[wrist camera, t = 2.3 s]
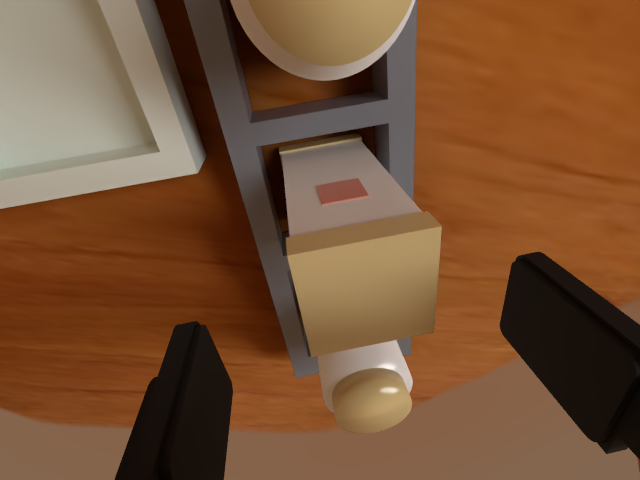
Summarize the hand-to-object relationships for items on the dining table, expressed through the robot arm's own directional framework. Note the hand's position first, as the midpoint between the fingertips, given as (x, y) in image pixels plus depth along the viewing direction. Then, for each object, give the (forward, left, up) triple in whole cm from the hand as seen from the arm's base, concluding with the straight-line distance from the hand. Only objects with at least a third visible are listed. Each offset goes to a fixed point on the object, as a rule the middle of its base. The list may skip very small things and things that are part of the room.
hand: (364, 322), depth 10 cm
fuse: (-1, 0, -10) cm, 10 cm away
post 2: (+7, 0, -10) cm, 13 cm away
